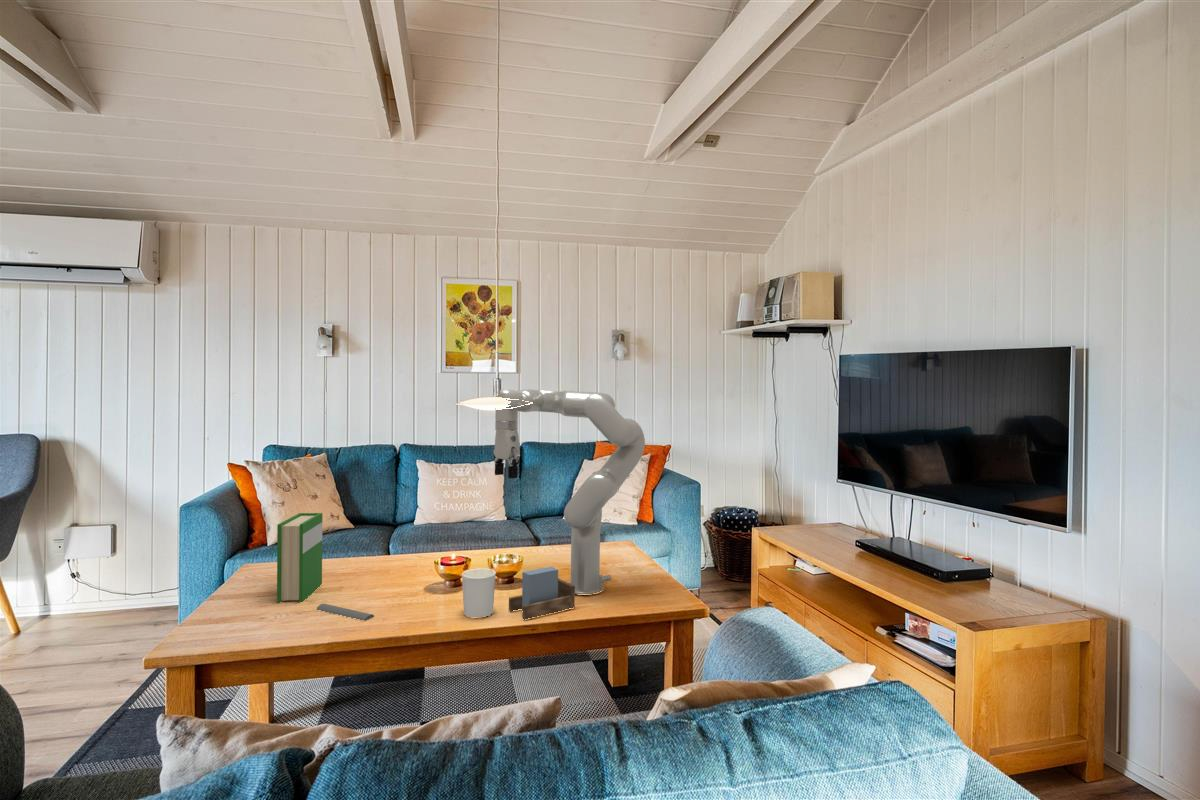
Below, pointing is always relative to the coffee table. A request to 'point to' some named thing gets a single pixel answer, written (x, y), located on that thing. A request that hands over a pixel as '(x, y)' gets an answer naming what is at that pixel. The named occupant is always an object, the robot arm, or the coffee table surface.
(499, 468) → the robot arm
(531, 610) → the book rack
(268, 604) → the coffee table surface
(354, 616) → the gray half cylinder
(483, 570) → the grey cylinder
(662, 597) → the coffee table surface
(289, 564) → the hardback book
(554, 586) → the slate-blue book
